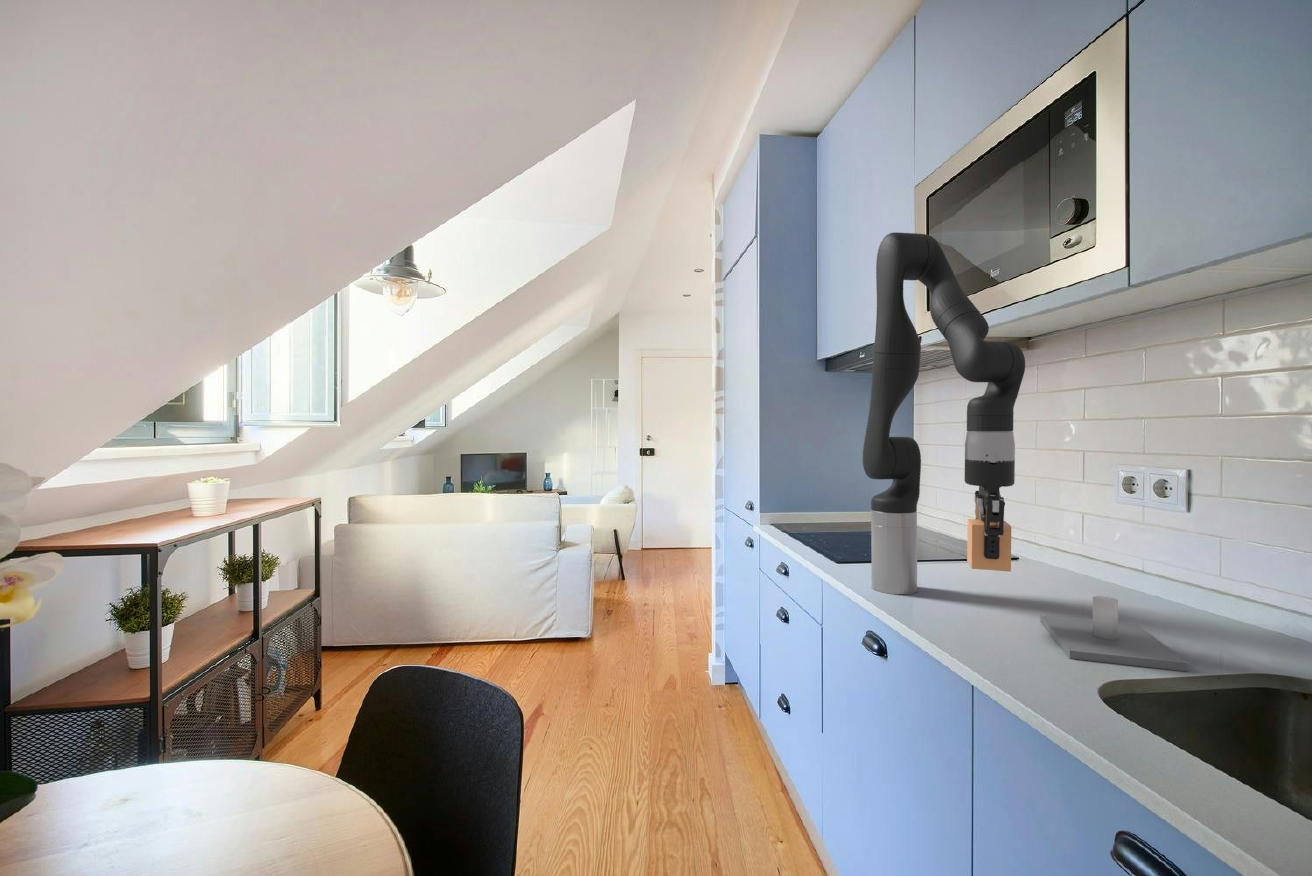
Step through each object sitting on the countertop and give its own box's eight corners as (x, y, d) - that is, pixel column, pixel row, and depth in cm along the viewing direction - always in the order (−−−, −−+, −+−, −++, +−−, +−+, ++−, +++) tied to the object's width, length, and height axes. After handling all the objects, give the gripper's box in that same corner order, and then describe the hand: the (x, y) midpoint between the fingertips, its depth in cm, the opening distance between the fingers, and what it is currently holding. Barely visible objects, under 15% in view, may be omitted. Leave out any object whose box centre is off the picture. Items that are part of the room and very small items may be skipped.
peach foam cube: (967, 560, 105) (967, 518, 105) (1004, 563, 103) (1004, 520, 103) (971, 568, 100) (972, 524, 100) (1010, 571, 98) (1011, 526, 97)
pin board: (1040, 621, 104) (1040, 581, 104) (1136, 630, 99) (1136, 588, 99) (1069, 658, 88) (1069, 610, 88) (1187, 671, 83) (1187, 620, 82)
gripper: (959, 454, 109) (959, 544, 109) (970, 459, 95) (969, 562, 96) (1006, 455, 106) (1005, 547, 107) (1023, 460, 93) (1022, 566, 93)
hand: (988, 554), depth 101 cm, fingers closed on peach foam cube, 5 cm apart
